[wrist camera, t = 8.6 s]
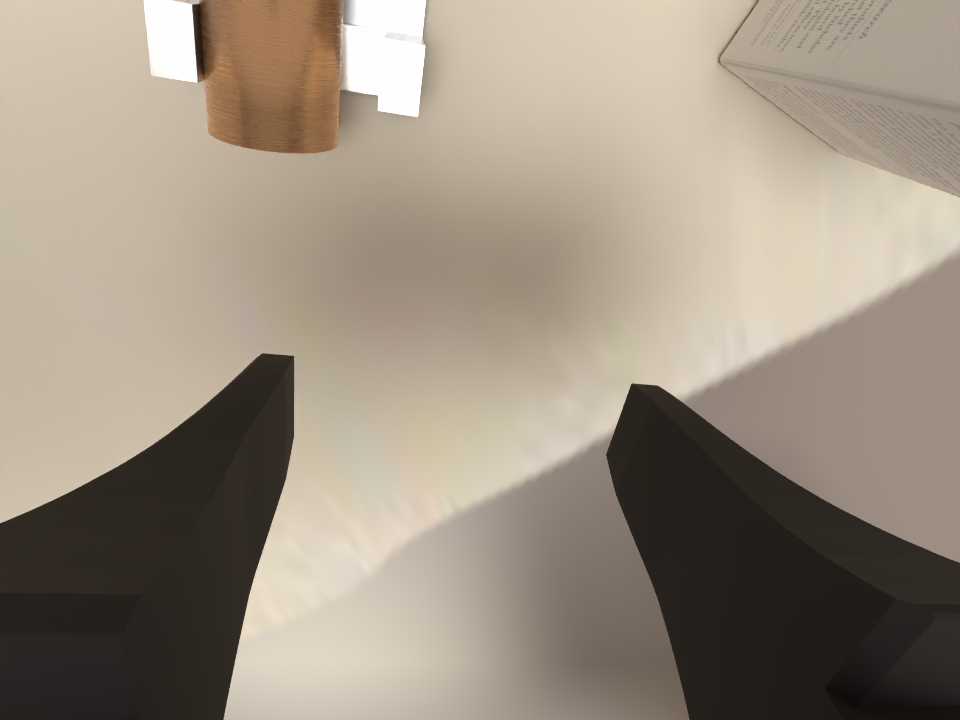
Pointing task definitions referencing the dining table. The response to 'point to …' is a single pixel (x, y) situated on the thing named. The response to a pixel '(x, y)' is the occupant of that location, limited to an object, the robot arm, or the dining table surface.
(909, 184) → the dining table surface
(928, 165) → the skincare box
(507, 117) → the dining table surface
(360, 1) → the cradle
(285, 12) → the tube
